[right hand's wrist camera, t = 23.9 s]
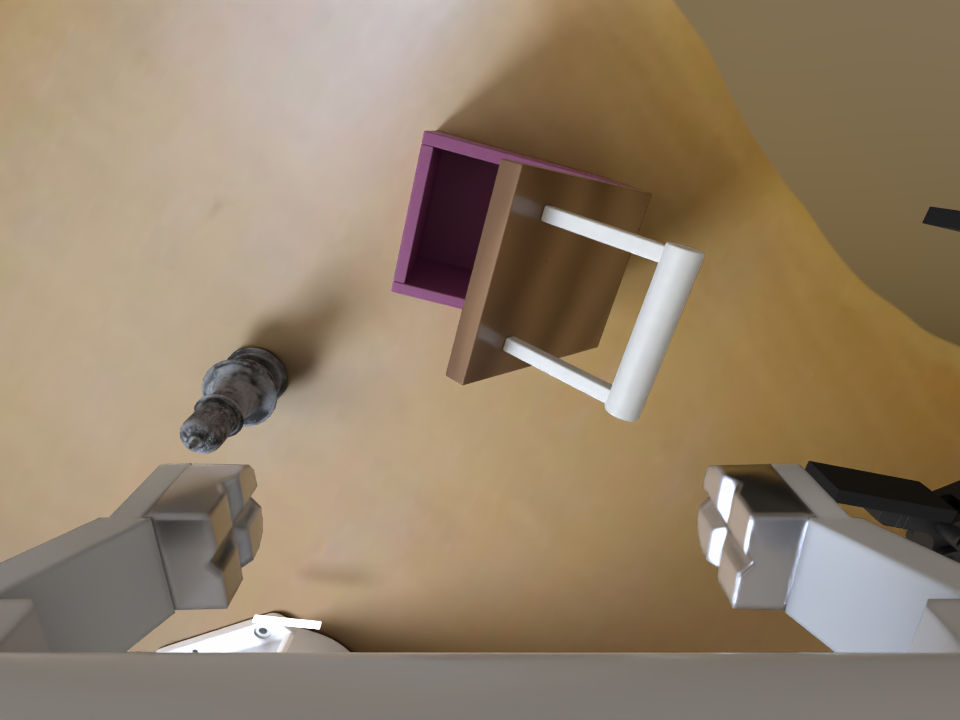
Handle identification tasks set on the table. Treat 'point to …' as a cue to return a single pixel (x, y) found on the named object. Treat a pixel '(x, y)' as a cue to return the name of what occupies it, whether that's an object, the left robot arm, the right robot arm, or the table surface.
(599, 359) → the table surface
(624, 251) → the lid
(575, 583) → the table surface
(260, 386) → the pewter chess piece
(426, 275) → the chest
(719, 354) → the table surface
